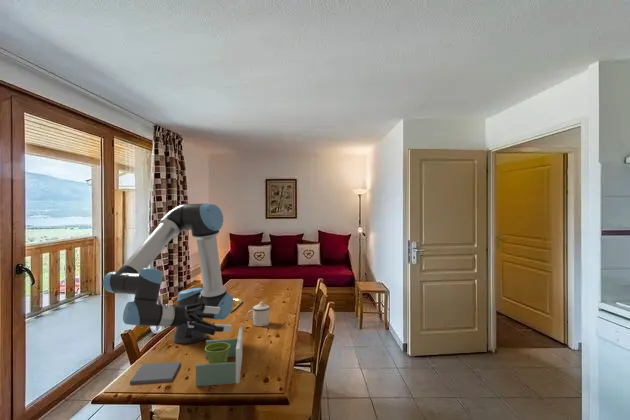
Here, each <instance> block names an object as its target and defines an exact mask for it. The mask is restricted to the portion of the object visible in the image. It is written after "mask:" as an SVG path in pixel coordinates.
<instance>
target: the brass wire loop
mask: <svg viewBox="0 0 630 420" xmlns="http://www.w3.org/2000/svg"><path fill="white" fill-rule="evenodd" d="M233 300H235V302H238V301H239V302H238V304H237V305H236V306H235V307H234V308H232V310H231V312H230V313H232V312H233V311H235V309H237V308H238V307H240V305H241V304H242V302H243V300H242V299H241V298H238V297H237V298H235V297H233ZM239 303H240V304H239Z"/></svg>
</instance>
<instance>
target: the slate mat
mask: <svg viewBox="0 0 630 420" xmlns="http://www.w3.org/2000/svg"><path fill="white" fill-rule="evenodd" d="M180 366H181V361H171V362H154V363H142V365H141V366H140V367H139V368H138V370H137V371H136V373H135V374H134V375H133V376H132V378H131V379H130V381H129V384H130V385H136V384H150V383H153V384H154V383H164V382H173V380H174V378H175V376H176V374H177V372H178V371H179V368H180Z"/></svg>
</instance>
